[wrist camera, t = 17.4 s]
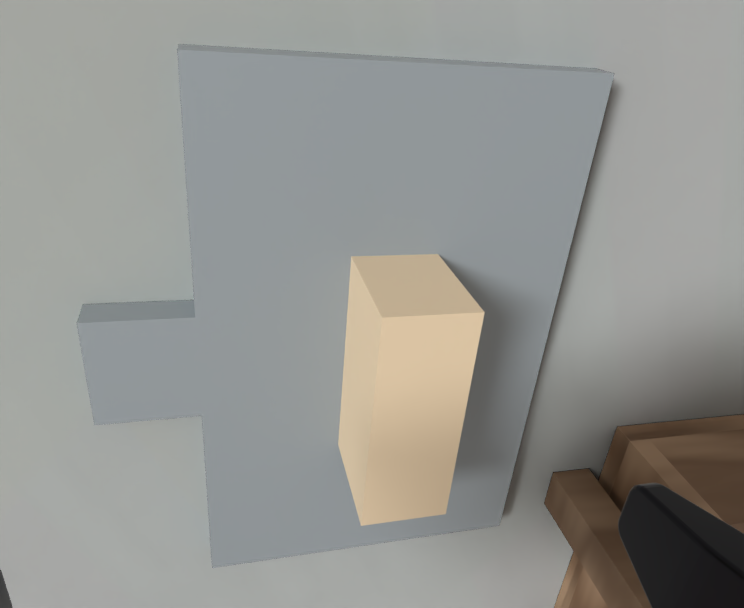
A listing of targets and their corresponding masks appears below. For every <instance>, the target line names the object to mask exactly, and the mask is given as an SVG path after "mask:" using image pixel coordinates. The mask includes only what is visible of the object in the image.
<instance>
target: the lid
mask: <svg viewBox="0 0 744 608" xmlns="http://www.w3.org/2000/svg"><path fill="white" fill-rule="evenodd" d="M177 54H178V69H179V84H180V99H181V114H182V128H183V143H184V158H185V173H186V188H187V203H188V218H189V233H190V248H191V262H192V277H193V292H194V300H177V301H153V302H130V303H106V304H83V306H82V309H81V312H80V315H79V318H78V321H77V328H78V334H79V340H80V346H81V351H82V357H83V363H84V368H85V374H86V380H87V386H88V391H89V397H90V403H91V408H92V414H93V420H94V425H102V424H114V423H125V422H136V421H148V420H159V419H171V418H182V417H193V416H202V426H203V441H204V456H205V471H206V486H207V501H208V516H209V531H210V546H211V560H212V568H216V567H223V566H229V565H236V564H243V563H250V562H256V561H263V560H270V559H277V558H284V557H290V556H297V555H304V554H311V553H317V552H324V551H331V550H338V549H345V548H351V547H358V546H365V545H372V544H378V543H385V542H392V541H399V540H406V539H412V538H419V537H426V536H433V535H439V534H446V533H453V532H460V531H467V530H473V529H480V528H487V527H494V526H499V525H500V521H501V517H502V514H503V510H504V506H505V502H506V498H507V494H508V490H509V486H510V482H511V478H512V474H513V470H514V466H515V462H516V459H517V455H518V451H519V447H520V443H521V439H522V435H523V431H524V427H525V423H526V419H527V415H528V411H529V408H530V404H531V400H532V396H533V392H534V388H535V384H536V380H537V376H538V372H539V368H540V364H541V360H542V356H543V353H544V349H545V345H546V341H547V337H548V333H549V329H550V325H551V321H552V317H553V313H554V309H555V305H556V301H557V298H558V294H559V290H560V286H561V282H562V278H563V274H564V270H565V266H566V262H567V258H568V254H569V250H570V247H571V243H572V239H573V235H574V231H575V227H576V223H577V219H578V215H579V211H580V207H581V203H582V199H583V195H584V192H585V188H586V184H587V180H588V176H589V172H590V168H591V164H592V160H593V156H594V152H595V148H596V144H597V140H598V137H599V133H600V129H601V125H602V121H603V117H604V113H605V109H606V105H607V101H608V97H609V93H610V89H611V86H612V82H613V78H614V73H611V72H607V71H604V70H600V69H596V68H580V67H563V66H546V65H529V64H511V63H494V62H477V61H460V60H443V59H426V58H409V57H392V56H375V55H358V54H341V53H324V52H307V51H289V50H272V49H255V48H238V47H221V46H204V45H187V44H179V45H178V48H177Z"/></svg>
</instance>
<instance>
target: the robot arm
mask: <svg viewBox="0 0 744 608" xmlns="http://www.w3.org/2000/svg"><path fill="white" fill-rule="evenodd" d="M618 531H619V535H620V538H621V540H622V542H623V545H624V547H625V549H626V551H627V554H628V556H629V558H630V560H631V563H632V565H633V567H634V569H635V572H636V574H637V576H638V578H639V581H640V583H641V585H642V587H643V590H644V592H645V594H646V596H647V599H648V601H649V603H650V605H651V608H744V533H742V532H741V531H739V530H737V529H736V528H734V527H732V526H731V525H729V524H727V523H726V522H724V521H722V520H721V519H719V518H717V517H716V516H714V515H712V514H711V513H709V512H707V511H706V510H704V509H702V508H701V507H699V506H697V505H696V504H694V503H692V502H691V501H689V500H687V499H686V498H684V497H682V496H681V495H679V494H677V493H675V492H674V491H672V490H670V489H669V488H667V487H665V486H664V485H662V484H659V483H647V484H639V485H635V486H634V487H632V488H631V490H630V491H629V494H628V497H627V499H626V502H625V504H624V507H623V509H622V512H621V515H620V517H619V520H618ZM0 608H12V604H11V600H10V597H9V594H8V591H7V588H6V584H5V581H4V578H3V575H2V572H1V570H0Z"/></svg>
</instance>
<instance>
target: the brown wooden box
mask: <svg viewBox="0 0 744 608" xmlns="http://www.w3.org/2000/svg"><path fill="white" fill-rule="evenodd" d="M647 483H659V484H662V485H664V486H665V487H667V488H669V489H670V490H672V491H674V492H675V493H677V494H679V495H681V496H682V497H684V498H686V499H687V500H689V501H691V502H692V503H694V504H696V505H697V506H699V507H701V508H702V509H704V510H706V511H707V512H709V513H711V514H712V515H714V516H716V517H717V518H719V519H721V520H722V521H724V522H726V523H727V524H729V525H731V526H732V527H734V528H736V529H737V530H739V531H741V532H742V533H744V414H743V415H733V416H722V417H712V418H702V419H691V420H681V421H671V422H661V423H650V424H640V425H630V426H619V427H617V429H616V431H615V434H614V437H613V440H612V443H611V446H610V449H609V452H608V454H607V457H606V460H605V463H604V466H603V469H602V472H601V474H600V477H599V480H598V481H597V479H596V478H595V476H594V475H593V474H592V472H591V471H590V470H589V469H580V470H571V471H562V472H554V473H553V475H552V478H551V482H550V485H549V488H548V492H547V495H546V498H545V502H544V504H545V505H546V507H547V508H548V510H549V512H550V513H551V515H552V517H553V518H554V520H555V521H556V523H557V525H558V526H559V528H560V530H561V531H562V533H563V534H564V536H565V538H566V539H567V541H568V543H569V544H570V546H571V547H572V549H573V551H574V552H573V555H572V558H571V560H570V563H569V566H568V569H567V572H566V575H565V578H564V581H563V583H562V586H561V589H560V592H559V595H558V598H557V601H556V603H555V606H554V608H651V605H650V603H649V601H648V599H647V596H646V594H645V592H644V590H643V587H642V585H641V583H640V581H639V578H638V576H637V574H636V572H635V569H634V567H633V565H632V563H631V560H630V558H629V556H628V554H627V551H626V549H625V547H624V545H623V542H622V540H621V538H620V535H619V531H618V520H619V517H620V515H621V512H622V509H623V507H624V504H625V502H626V499H627V497H628V494H629V491H630V490H631V488H632V487H634V486H635V485H639V484H647Z"/></svg>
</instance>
